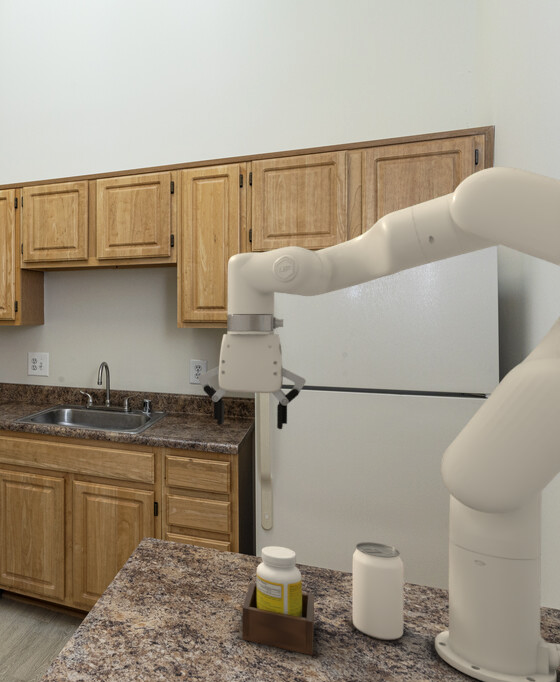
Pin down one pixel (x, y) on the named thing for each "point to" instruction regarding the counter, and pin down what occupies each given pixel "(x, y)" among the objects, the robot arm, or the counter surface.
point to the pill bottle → (279, 582)
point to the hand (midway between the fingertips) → (249, 425)
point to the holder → (279, 624)
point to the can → (378, 591)
